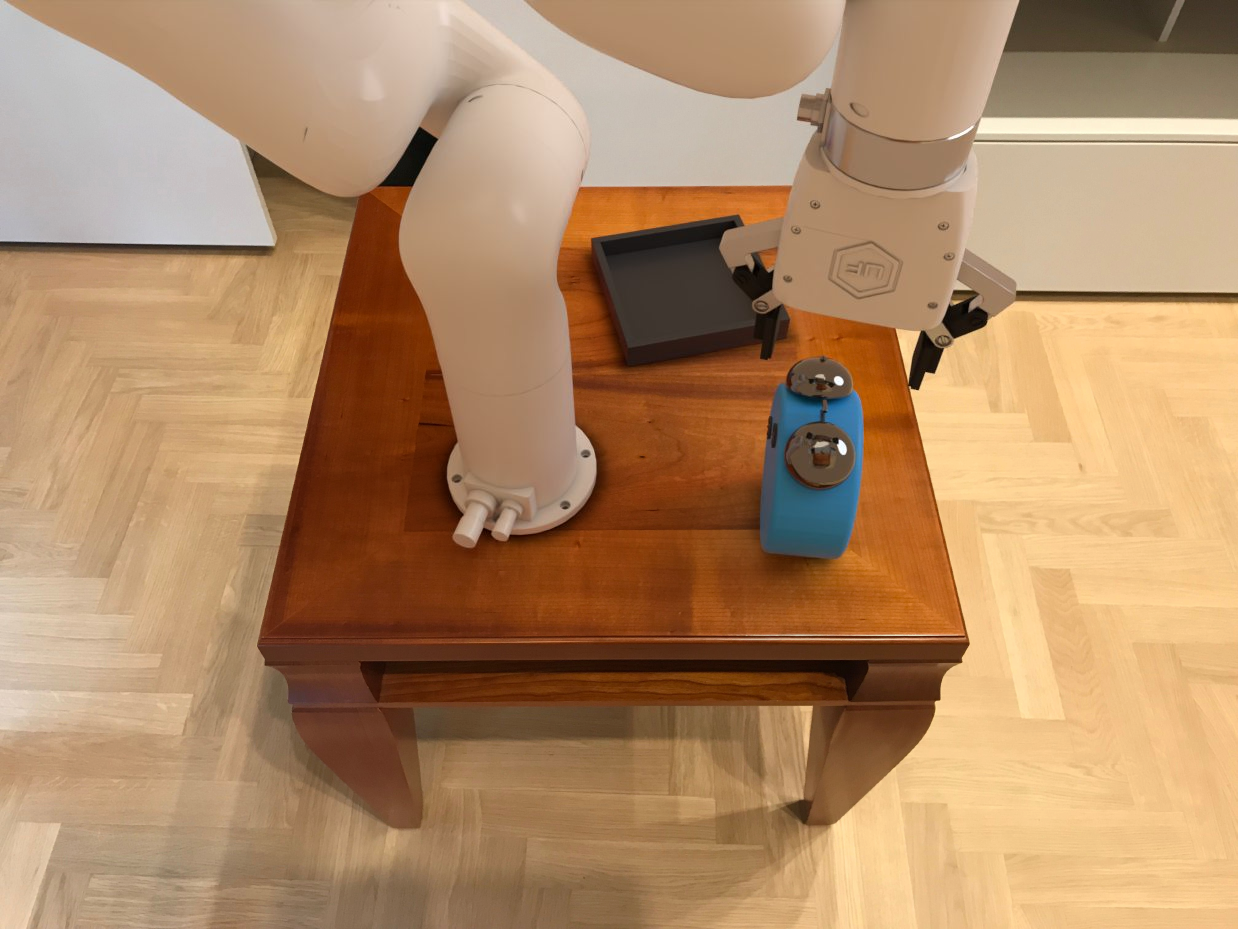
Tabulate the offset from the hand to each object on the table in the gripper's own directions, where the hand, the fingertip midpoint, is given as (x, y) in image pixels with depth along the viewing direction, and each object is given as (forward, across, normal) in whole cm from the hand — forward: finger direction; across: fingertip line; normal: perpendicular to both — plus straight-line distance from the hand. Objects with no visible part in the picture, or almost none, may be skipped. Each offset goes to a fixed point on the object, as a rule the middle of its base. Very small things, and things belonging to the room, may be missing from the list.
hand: (841, 359), depth 62 cm
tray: (+19, -16, +23) cm, 34 cm away
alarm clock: (+19, -1, 0) cm, 19 cm away
